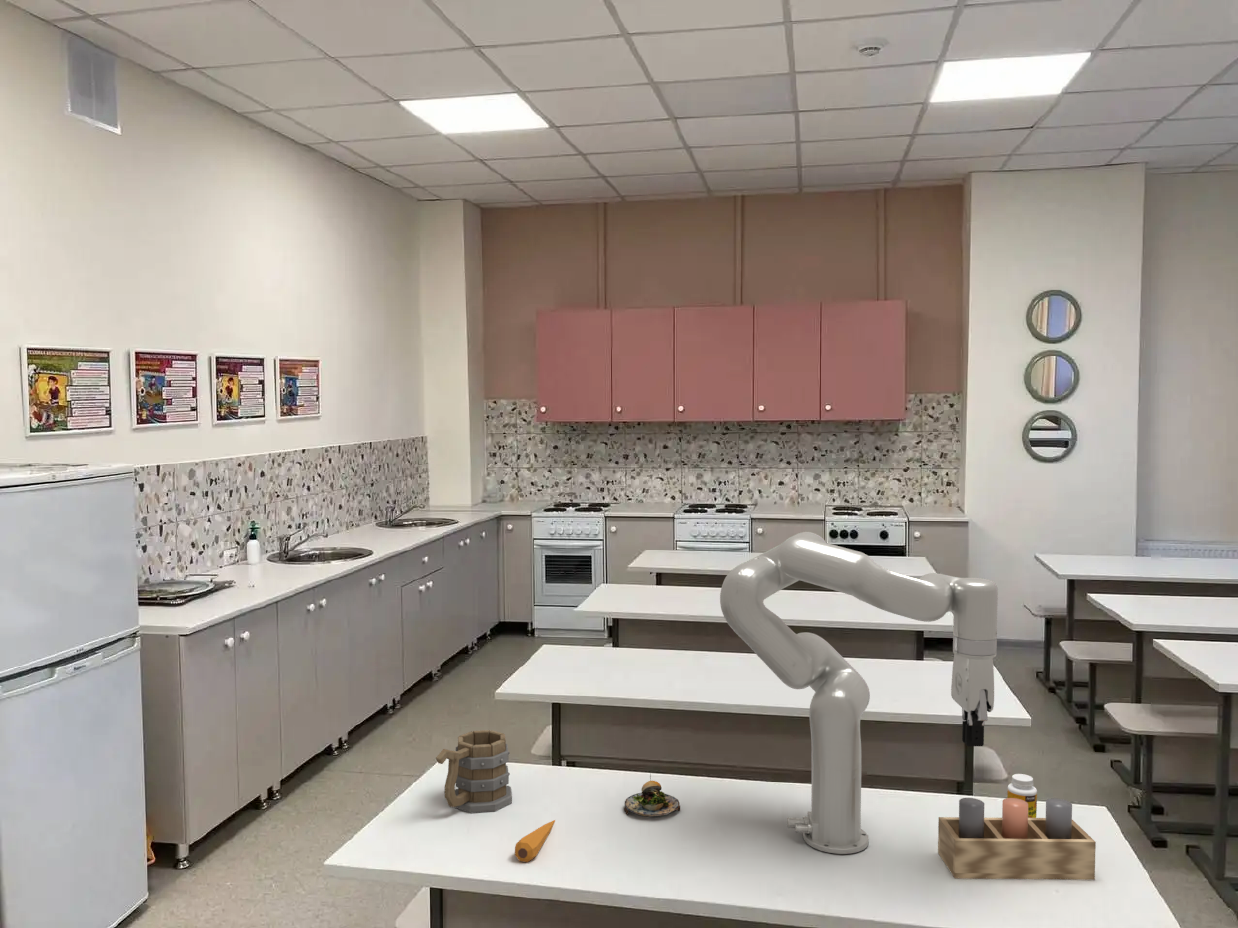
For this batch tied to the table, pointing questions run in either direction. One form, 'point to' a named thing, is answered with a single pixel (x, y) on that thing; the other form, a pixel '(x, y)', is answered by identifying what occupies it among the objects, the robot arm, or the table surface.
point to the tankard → (478, 772)
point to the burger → (651, 801)
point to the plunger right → (1058, 819)
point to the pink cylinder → (1014, 819)
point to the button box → (1016, 853)
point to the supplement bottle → (1024, 792)
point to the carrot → (532, 843)
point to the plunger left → (971, 818)
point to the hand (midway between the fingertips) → (972, 743)
